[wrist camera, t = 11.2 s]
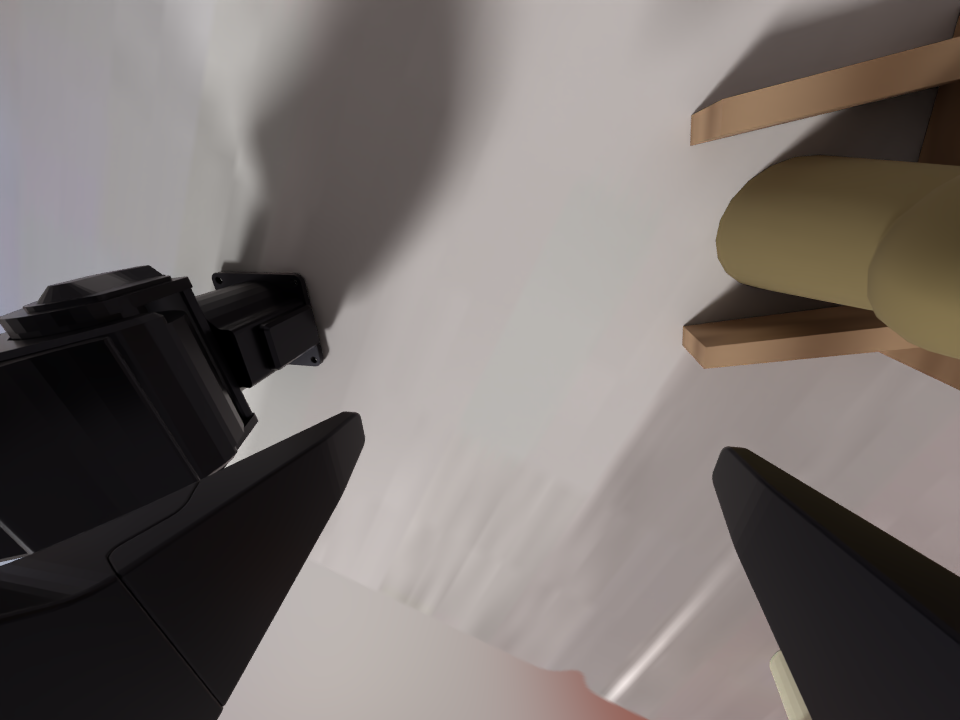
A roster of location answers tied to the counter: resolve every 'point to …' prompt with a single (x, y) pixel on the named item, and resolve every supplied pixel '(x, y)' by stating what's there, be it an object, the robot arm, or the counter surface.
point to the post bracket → (948, 141)
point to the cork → (855, 240)
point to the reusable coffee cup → (788, 689)
